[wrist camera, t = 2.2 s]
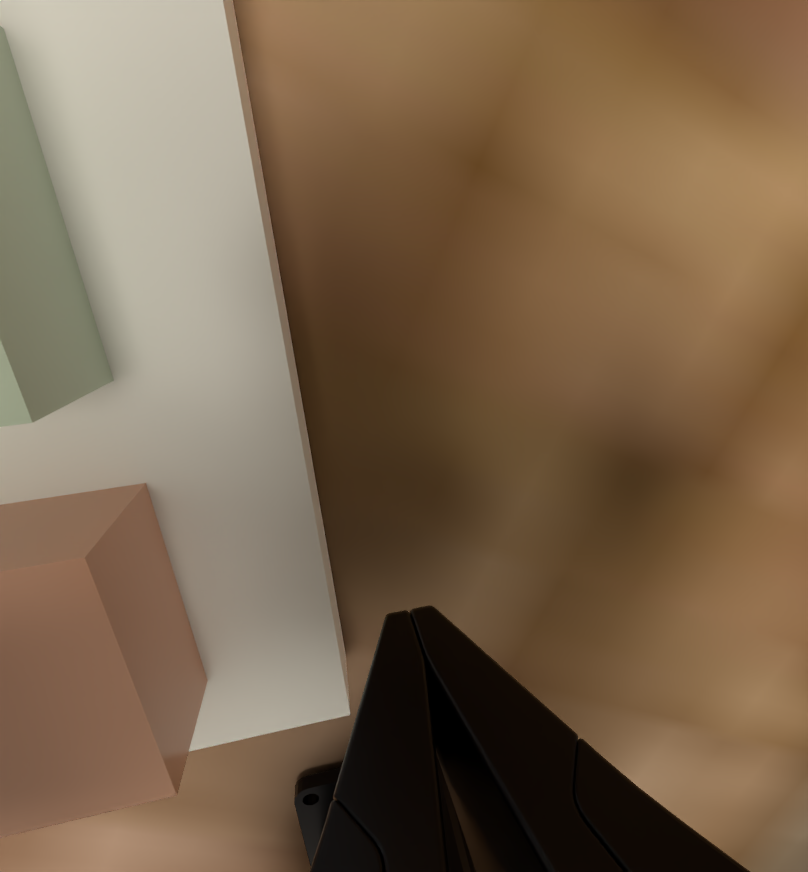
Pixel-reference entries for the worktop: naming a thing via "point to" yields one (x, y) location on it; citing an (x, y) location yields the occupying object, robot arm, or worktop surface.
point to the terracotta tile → (91, 659)
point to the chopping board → (184, 343)
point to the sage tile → (38, 277)
